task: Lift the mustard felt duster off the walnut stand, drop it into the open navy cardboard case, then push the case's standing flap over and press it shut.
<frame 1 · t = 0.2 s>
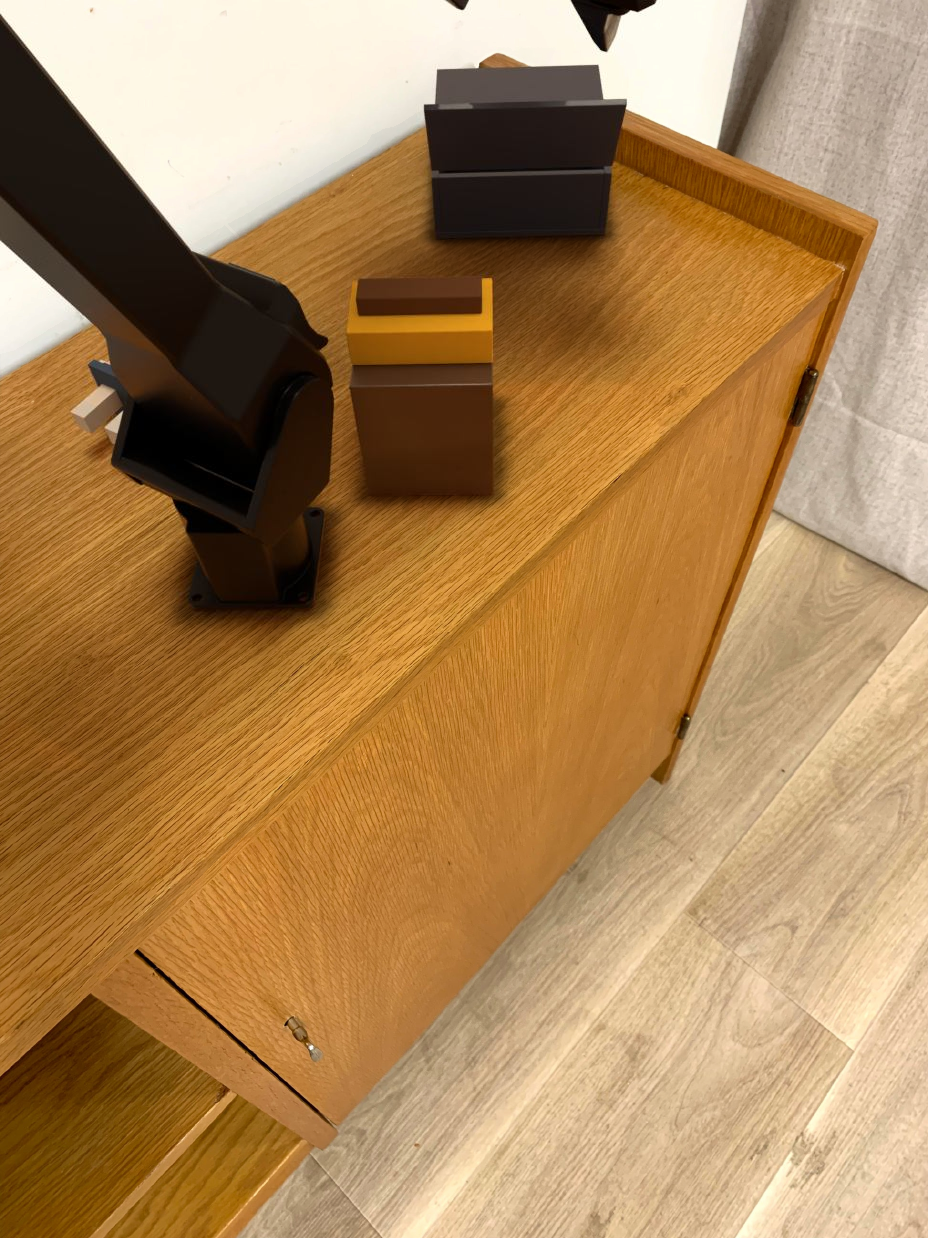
hand: (534, 22, 49), 15 cm above the cabinet, tool tilted 30°, fingers open, 9 cm apart
figurine: (197, 385, 56), on the cabinet
flap: (523, 136, 55), point 8 cm above the cabinet, hinge at 120.0°
case: (518, 184, 66), on the cabinet
duster: (423, 337, 45), point 8 cm above the cabinet, touching stand
stand: (433, 449, 52), on the cabinet
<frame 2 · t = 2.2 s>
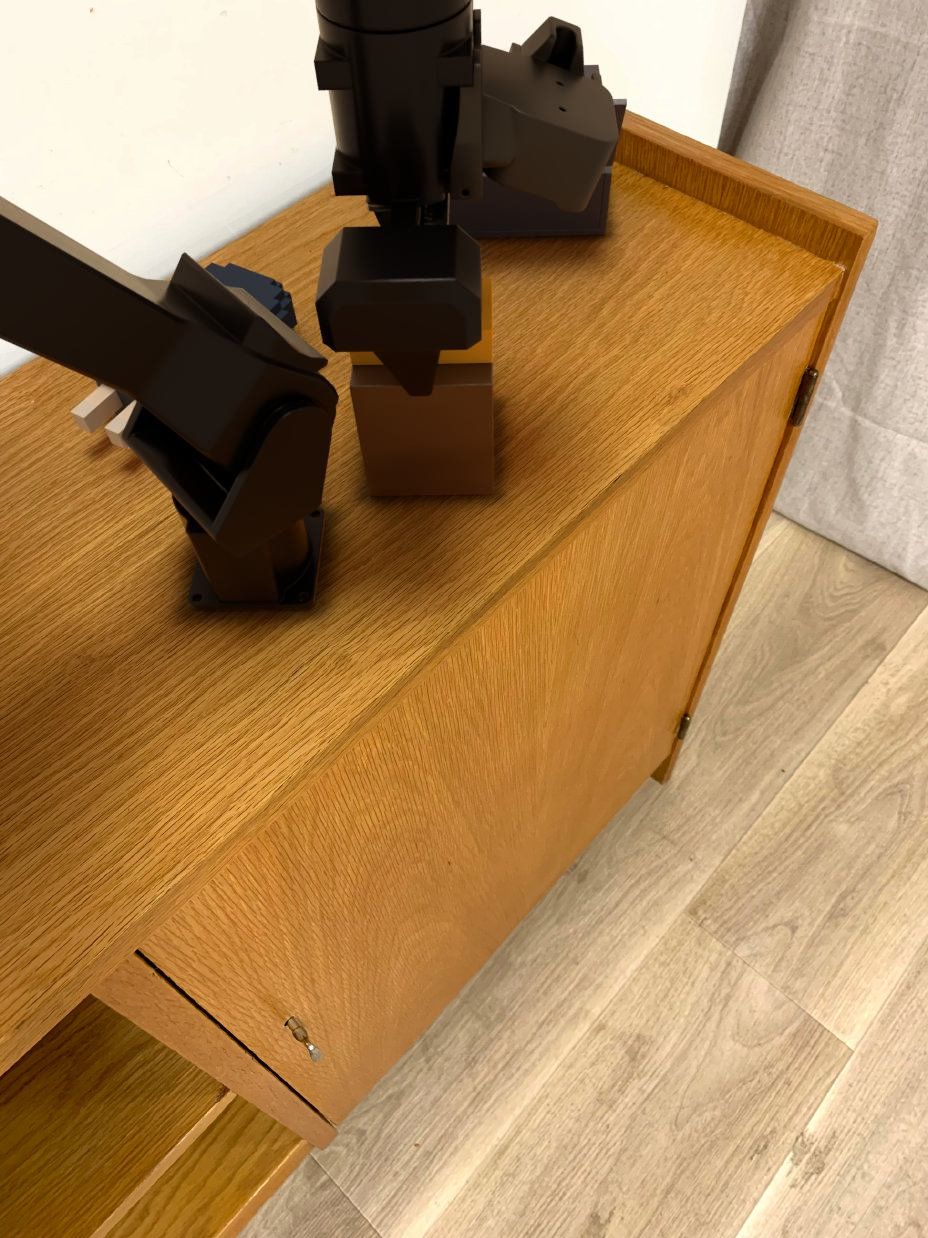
hand: (423, 344, 45), 8 cm above the cabinet, tool pointing down, fingers closed on stand, 7 cm apart
nothing on the cabinet moved.
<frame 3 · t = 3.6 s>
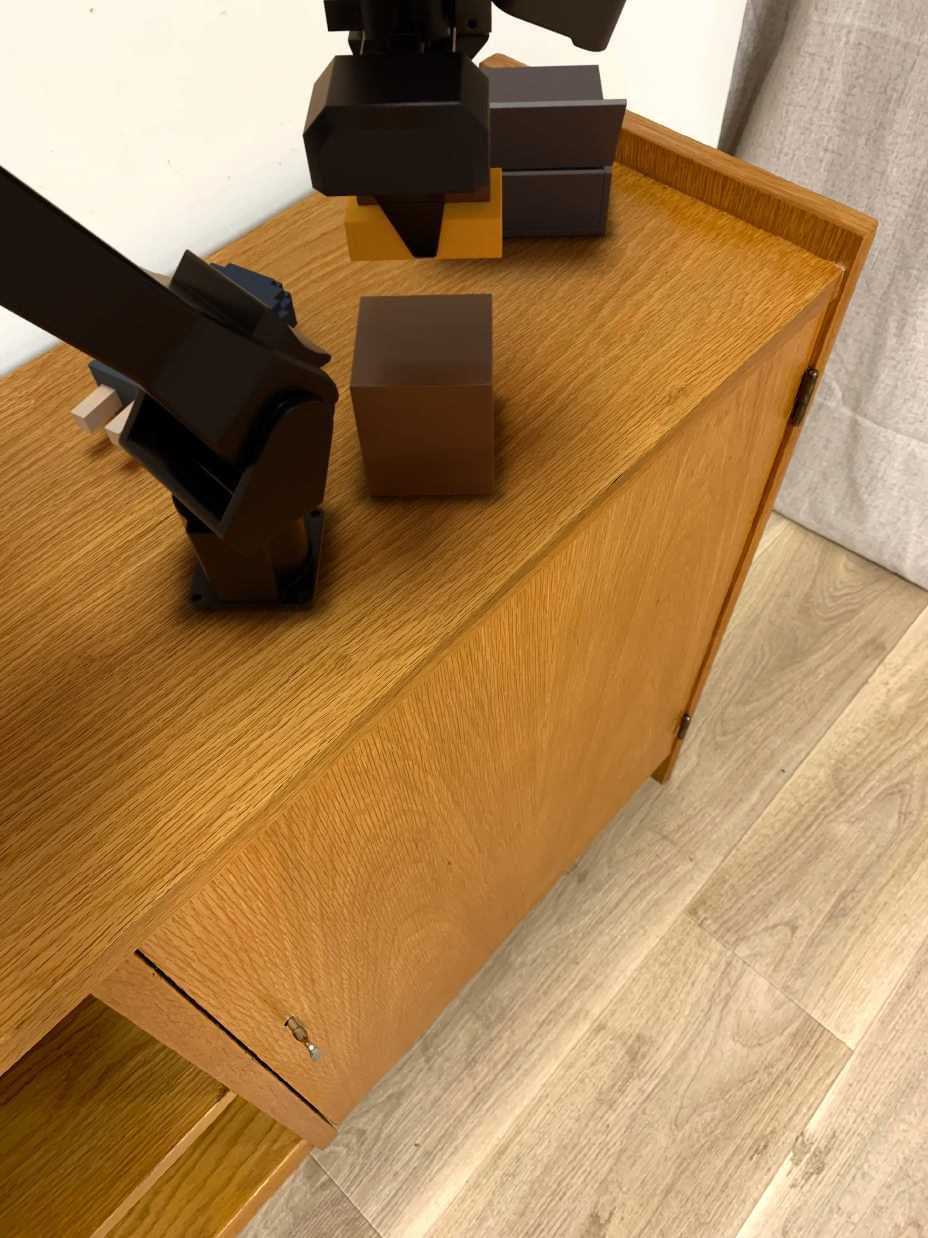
hand: (427, 227, 42), 13 cm above the cabinet, tool pointing down, fingers closed on duster, 4 cm apart
duster: (427, 233, 42), point 13 cm above the cabinet, touching gripper
everything else where it was.
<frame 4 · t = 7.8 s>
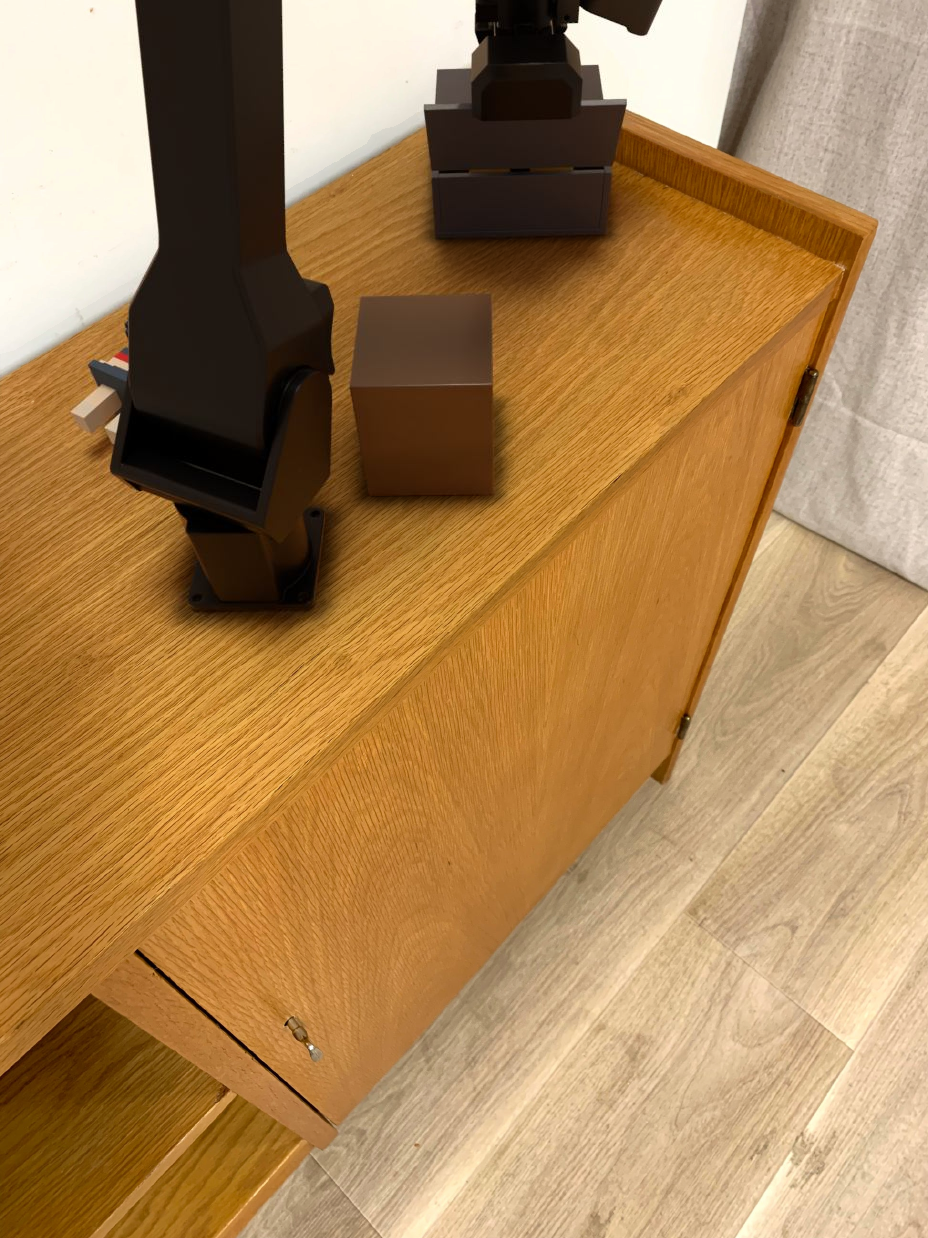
hand: (519, 157, 62), 4 cm above the cabinet, tool pointing down, fingers closed on duster, 4 cm apart
duster: (520, 161, 62), point 3 cm above the cabinet, touching gripper
everything else where it was.
when the fingers open (7 cm above the cabinet, at t = 20.6 s): duster drops 6 cm, resting on case.
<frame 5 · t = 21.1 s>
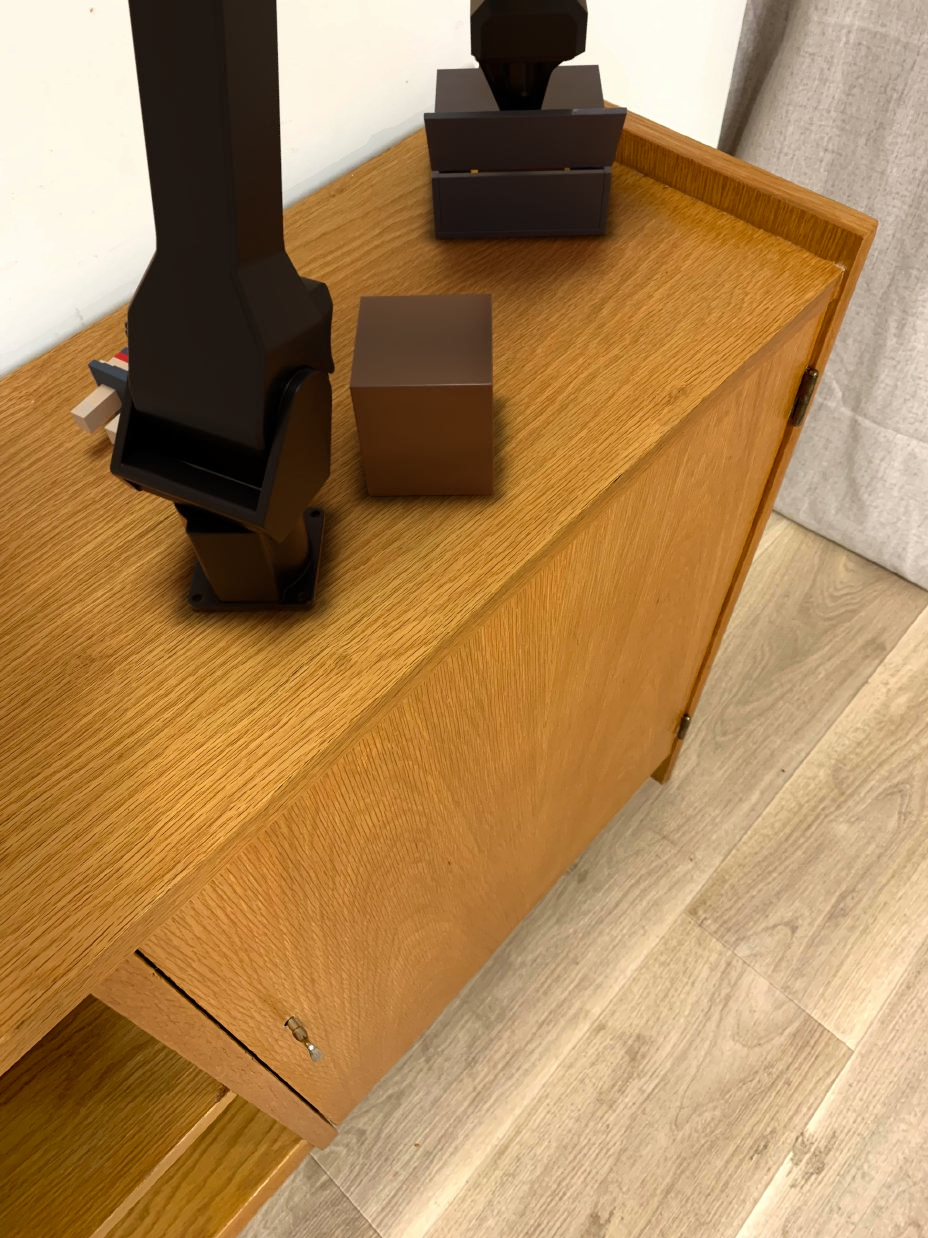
hand: (521, 108, 59), 7 cm above the cabinet, tool pointing down, fingers open, 9 cm apart
flap: (523, 140, 55), point 8 cm above the cabinet, hinge at 124.7°, touching gripper
duster: (520, 201, 64), resting on case
everything else where it was.
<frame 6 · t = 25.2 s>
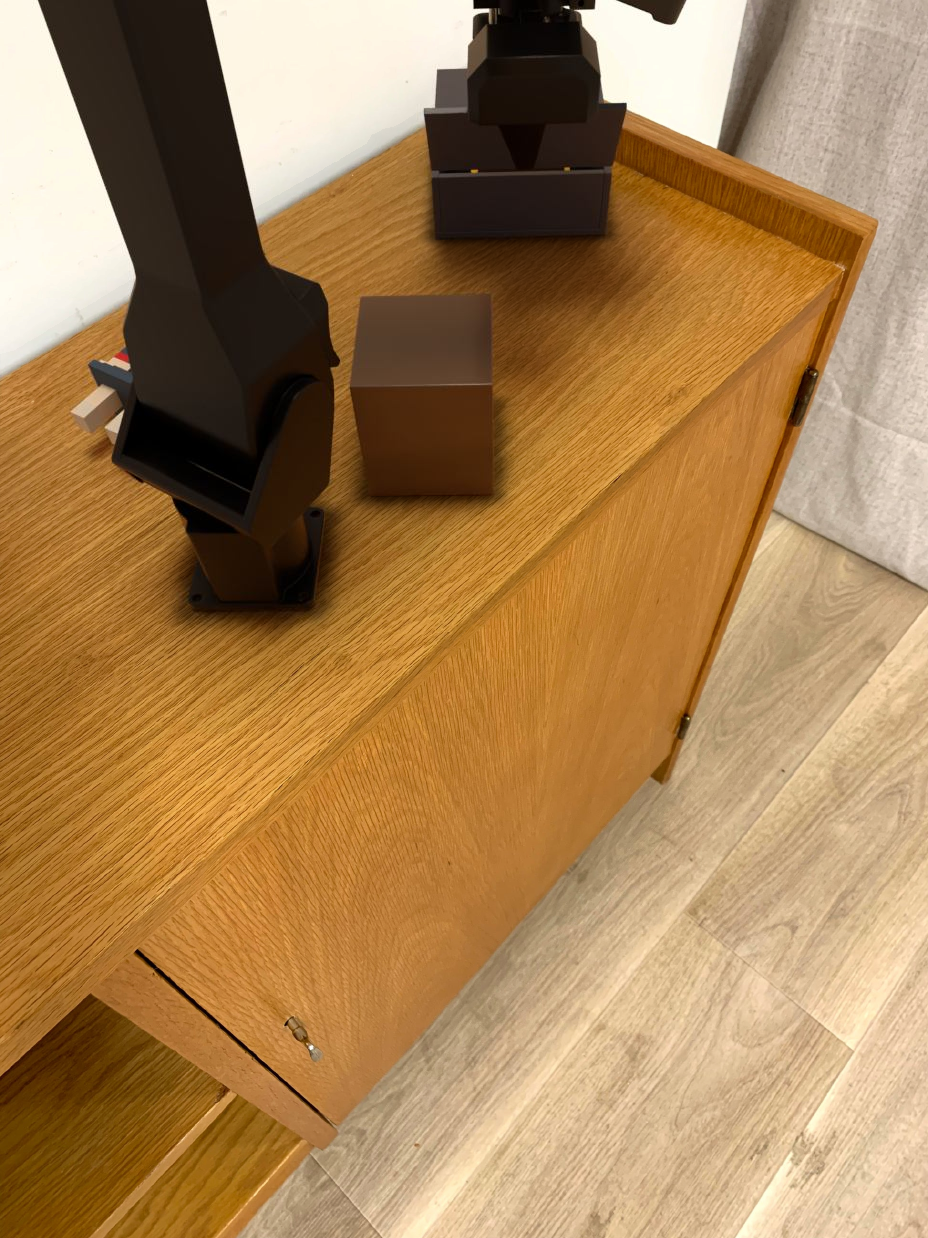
hand: (525, 167, 53), 8 cm above the cabinet, tool pointing down, fingers closed
flap: (523, 138, 55), point 8 cm above the cabinet, hinge at 122.0°, touching gripper
everything else where it was.
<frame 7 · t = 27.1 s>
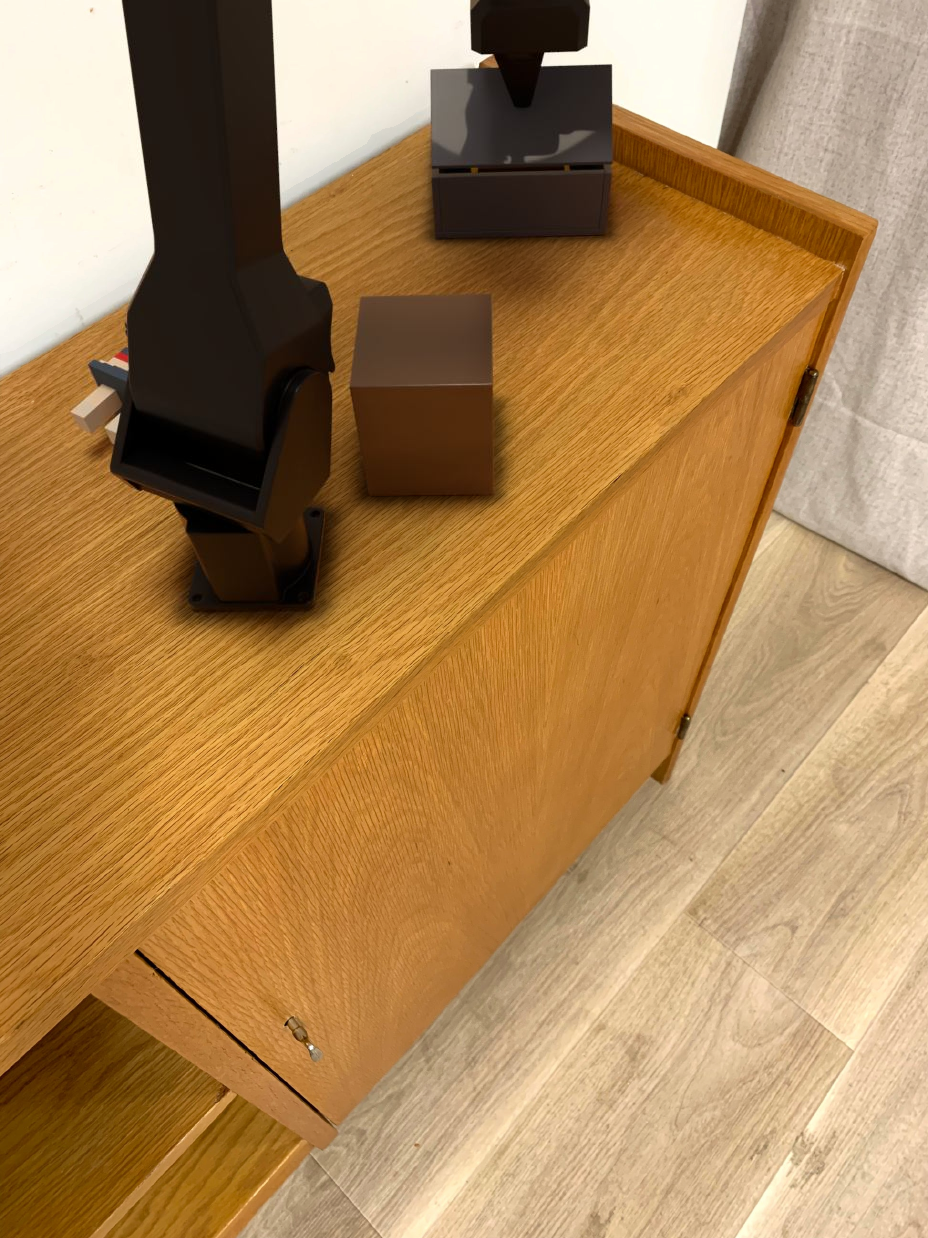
hand: (522, 104, 58), 8 cm above the cabinet, tool pointing down, fingers closed
flap: (521, 116, 58), point 7 cm above the cabinet, hinge at 34.1°, touching gripper
everything else where it was.
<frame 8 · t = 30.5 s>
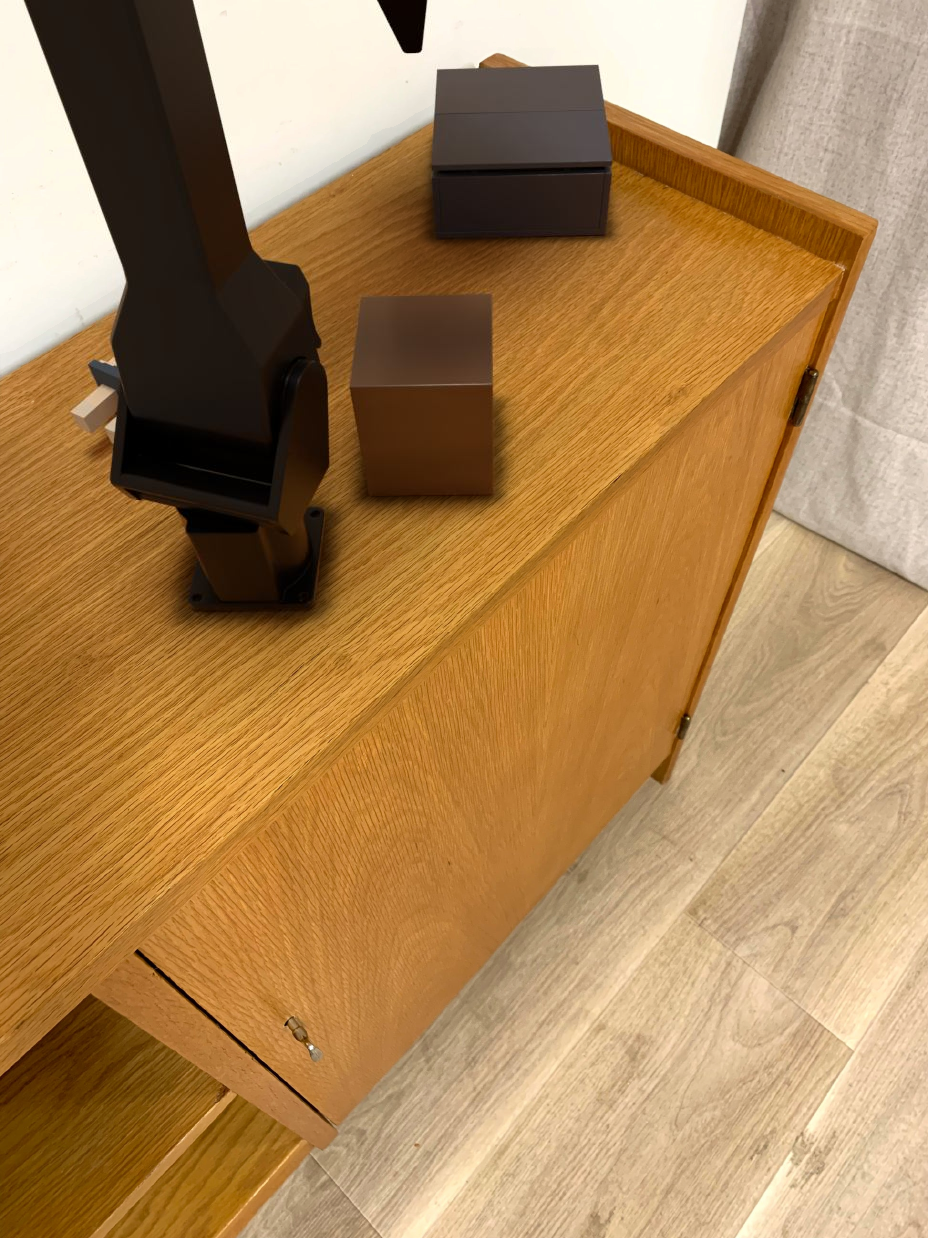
hand: (412, 50, 51), 13 cm above the cabinet, tool pointing down, fingers closed
flap: (520, 139, 60), point 5 cm above the cabinet, hinge at 0.4°
everything else where it was.
at the end: duster inside the target area in the case (3.0 cm from its centre), point 0.5 cm above the case's base; flap at +0° (first picture: +120°) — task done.
